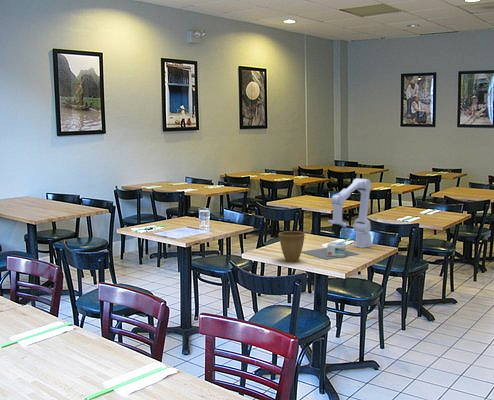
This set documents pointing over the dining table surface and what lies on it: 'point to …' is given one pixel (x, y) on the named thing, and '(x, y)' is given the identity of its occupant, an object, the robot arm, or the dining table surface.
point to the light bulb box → (336, 249)
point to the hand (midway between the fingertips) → (337, 236)
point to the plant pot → (291, 244)
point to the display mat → (325, 253)
